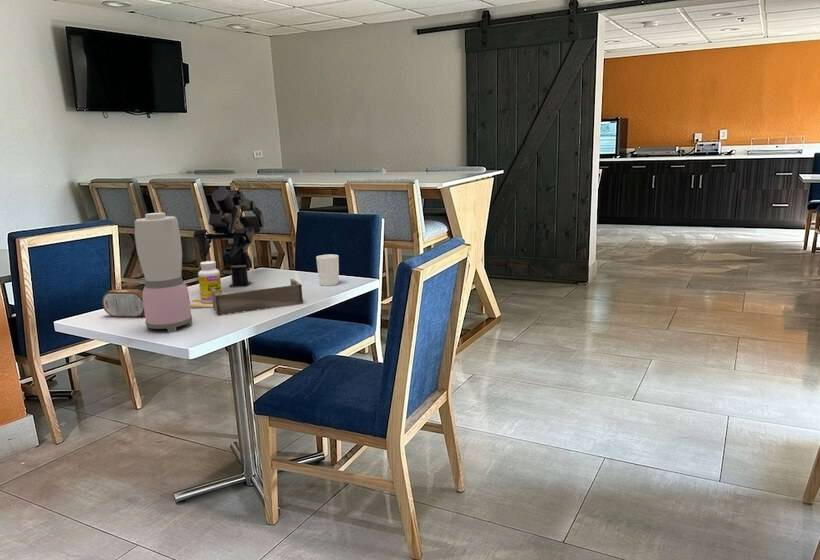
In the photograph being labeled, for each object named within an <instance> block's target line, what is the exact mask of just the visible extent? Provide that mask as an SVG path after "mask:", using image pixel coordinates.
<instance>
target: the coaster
mask: <svg viewBox="0 0 820 560" xmlns="http://www.w3.org/2000/svg"><path fill="white" fill-rule="evenodd" d="M211 307H213V303H203V302H202V301H201V296H197V297H196V298H194V299H192V300H191V301H190V308H192V309H212V308H211Z"/></svg>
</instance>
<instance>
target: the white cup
mask: <svg viewBox="0 0 820 560" xmlns="http://www.w3.org/2000/svg"><path fill="white" fill-rule="evenodd" d="M315 258H316V259H315V260H316V268H317V275H318V280H319V285H320V286H325V287H330V286H336V285H338V284H339V276H340V272H339V271H340V267H339V266H340V264H339V262H340V260H339V255H338V254H332V253H330V254H329V253H328V254H322V255H321V254H320V255H317V256H315Z"/></svg>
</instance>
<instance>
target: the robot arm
mask: <svg viewBox="0 0 820 560" xmlns="http://www.w3.org/2000/svg"><path fill="white" fill-rule="evenodd" d="M211 198H212V200H213V203H214V204H215V207H216V209H217V210H218V211H220V212H219V214H209V215H208V216H209V217H208V225H209V226H211V230H213V231H214V232H213V231H212V232H209V231H208V229H206V228H203V229H202V228H201V229H200V228H199V229H197V228H196V229H195V230H194V231H193V234H192V236H193V238H194V239H195V241H196V242H197V243H198V244H199V246H201V251H202V257H203V258H204V259H206V258H207V256H208V254H209V252H210V248H211V247H212V246H211V243H212V240H233V242H232V243H230V242H229V243H228V244H227V246H226V248H224V252H223V254H222V261H223V265H224V266H223V267H224V269H225V271H227V270H230V278H231V283H230V284H229V285H228V286H229V287H230V288H232V287H234V288H235V287H239V288H240V287H248V286H250V284H251V283H252V281H251V280H249V276H248V275H249V274H248V270H249V269H253V260H252V259H251V256H250V254H249V252H248V249H249V247H250V245H251V244H252V241H253V238H254V236H255V235H257V234H259V233H261V232H262V230H263V228H264V227H265V219H264V215H263V213H262V211H261V210H260V209H259V207H257V206H256V202H255V201H254V200H251V199H249V198H247V197H246V196H245V195H244V192H243V191H241V190H240V189H227V187H226V186H225V185H221V186H220V185H219V187H218V188H216V189H215V190H214V191H213V192H212V193H211ZM239 210H240V215H239ZM251 211H252V213H253V214H254V215H243V213H244V212H251ZM237 218H238V220H239V223H240V227H241V228H240V227H239V228H237V225H236V223H237Z"/></svg>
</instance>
